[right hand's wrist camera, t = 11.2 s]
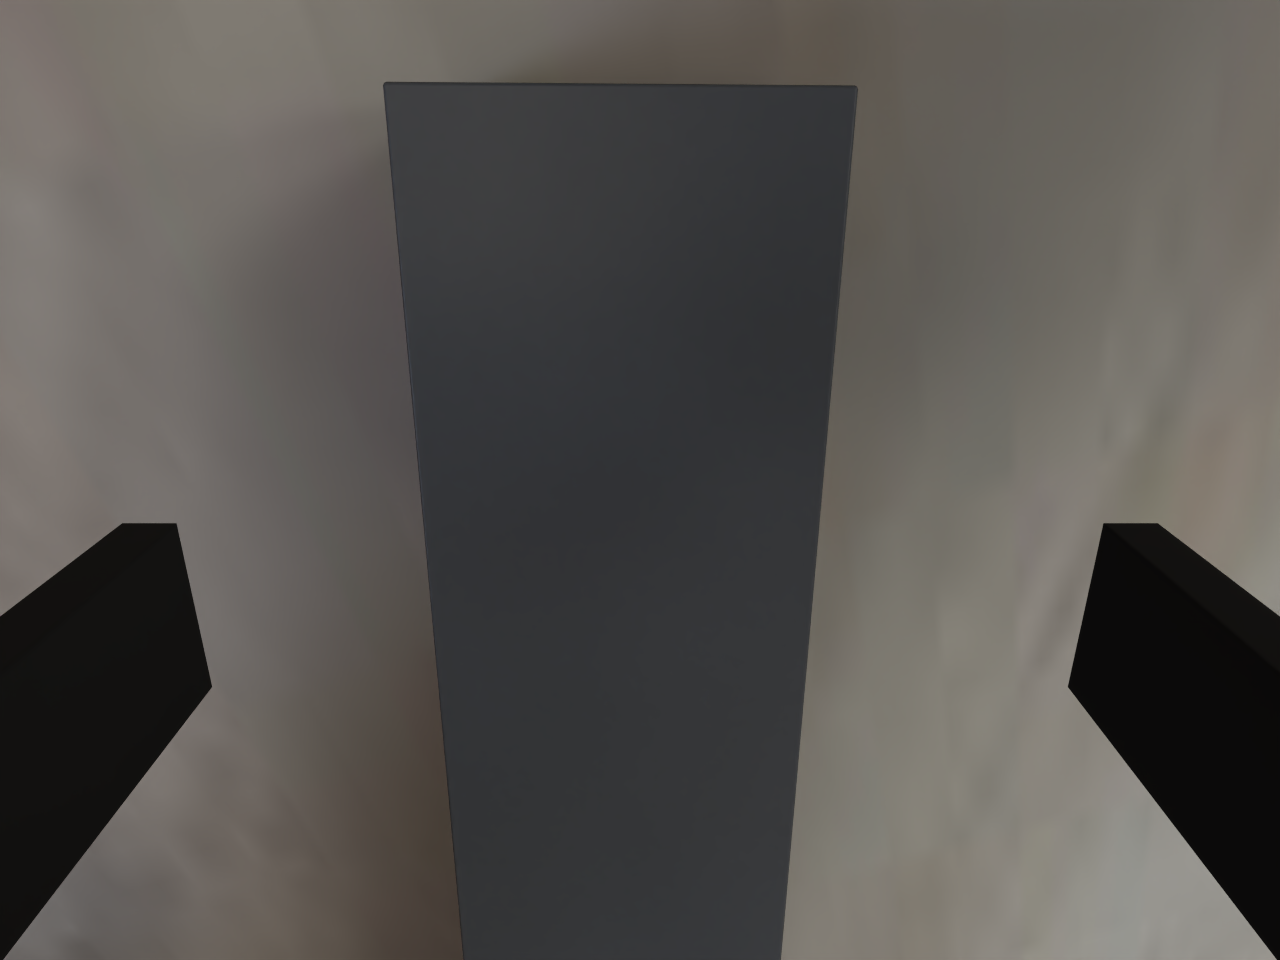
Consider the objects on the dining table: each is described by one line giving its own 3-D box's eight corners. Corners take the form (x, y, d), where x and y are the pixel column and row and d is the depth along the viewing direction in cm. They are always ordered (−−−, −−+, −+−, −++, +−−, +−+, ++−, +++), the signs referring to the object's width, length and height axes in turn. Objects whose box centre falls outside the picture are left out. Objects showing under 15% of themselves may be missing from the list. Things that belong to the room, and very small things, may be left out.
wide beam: (452, 98, 23) (381, 81, 16) (789, 101, 23) (859, 85, 16) (529, 1270, 41) (511, 1489, 34) (716, 1266, 41) (734, 1483, 34)
